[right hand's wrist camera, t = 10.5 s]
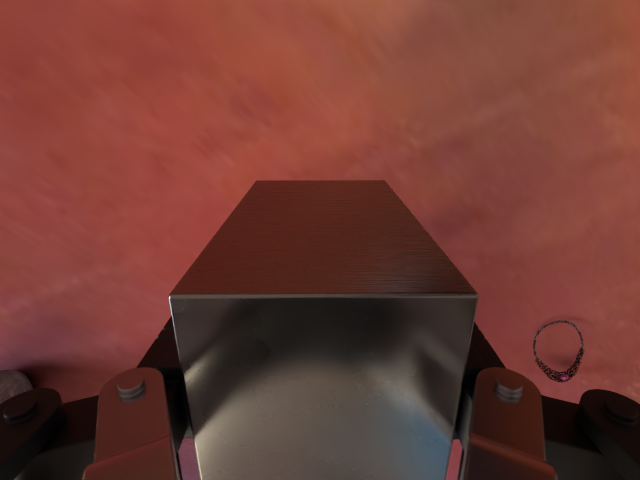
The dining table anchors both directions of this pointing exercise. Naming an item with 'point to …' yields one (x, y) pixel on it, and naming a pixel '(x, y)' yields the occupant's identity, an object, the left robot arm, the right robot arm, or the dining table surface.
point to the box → (323, 338)
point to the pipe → (13, 384)
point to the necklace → (566, 375)
